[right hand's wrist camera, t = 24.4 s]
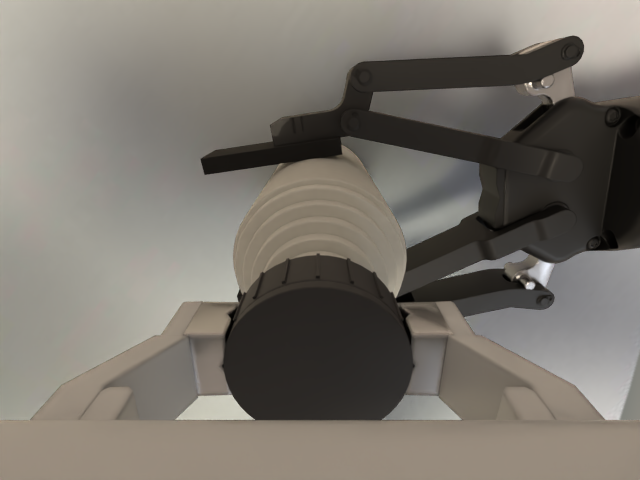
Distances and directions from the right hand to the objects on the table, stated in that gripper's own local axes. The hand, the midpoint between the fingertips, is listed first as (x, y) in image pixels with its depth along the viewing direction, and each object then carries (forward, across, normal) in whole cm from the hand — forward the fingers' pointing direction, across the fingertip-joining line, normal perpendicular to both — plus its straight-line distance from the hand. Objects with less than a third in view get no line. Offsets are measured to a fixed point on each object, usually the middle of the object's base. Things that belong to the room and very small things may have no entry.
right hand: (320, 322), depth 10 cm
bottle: (+16, 0, 0) cm, 16 cm away
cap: (-2, 0, 0) cm, 2 cm away
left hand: (+10, -5, -1) cm, 11 cm away
